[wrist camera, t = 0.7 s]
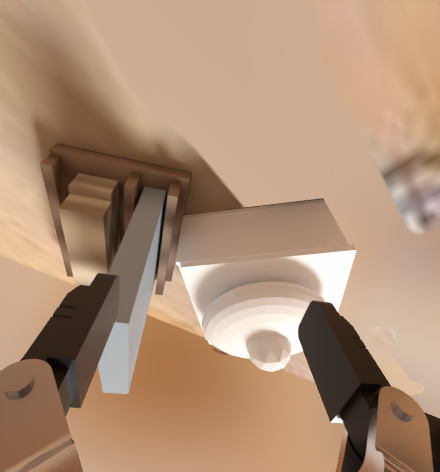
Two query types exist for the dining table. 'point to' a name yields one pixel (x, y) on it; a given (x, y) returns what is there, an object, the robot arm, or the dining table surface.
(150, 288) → the grey board
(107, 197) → the offcut lower
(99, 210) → the offcut upper
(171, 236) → the walnut rack
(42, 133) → the dining table surface
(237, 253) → the butter dish
